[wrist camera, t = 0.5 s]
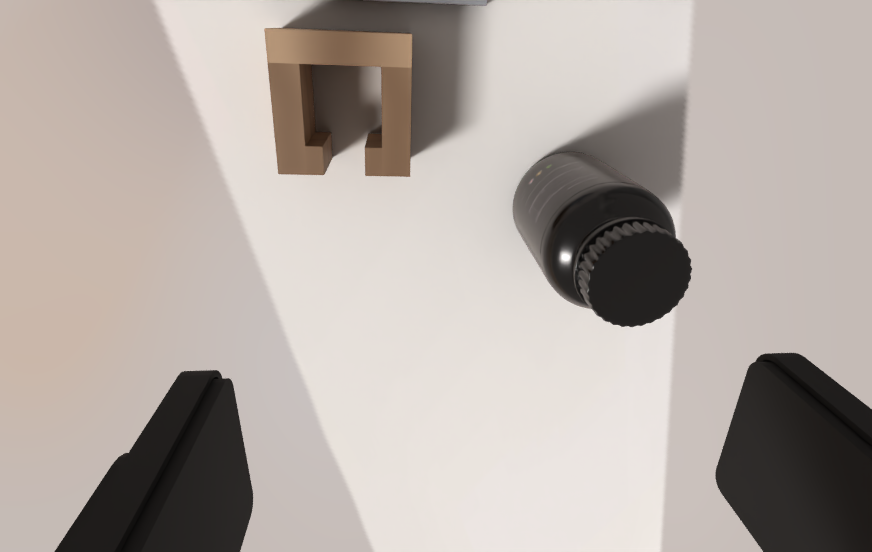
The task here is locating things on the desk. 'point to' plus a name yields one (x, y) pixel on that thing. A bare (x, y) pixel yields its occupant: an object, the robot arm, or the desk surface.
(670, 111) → the desk surface
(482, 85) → the desk surface
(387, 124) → the wooden arch block
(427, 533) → the desk surface
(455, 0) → the post base
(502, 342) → the desk surface
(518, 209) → the supplement bottle
